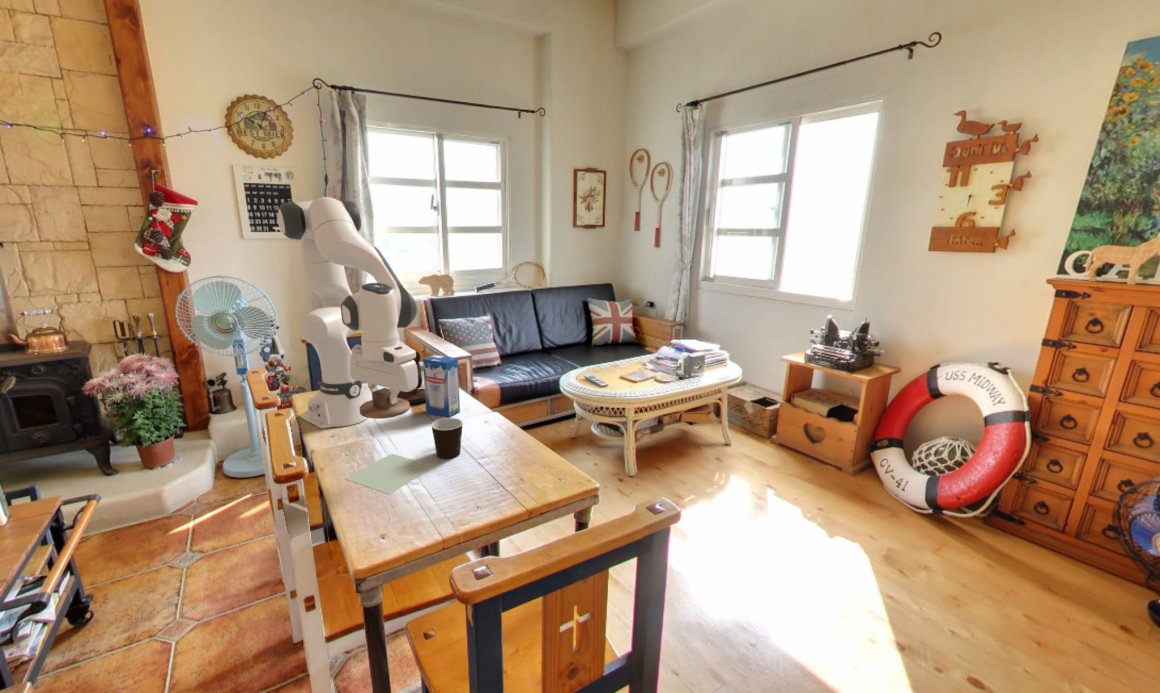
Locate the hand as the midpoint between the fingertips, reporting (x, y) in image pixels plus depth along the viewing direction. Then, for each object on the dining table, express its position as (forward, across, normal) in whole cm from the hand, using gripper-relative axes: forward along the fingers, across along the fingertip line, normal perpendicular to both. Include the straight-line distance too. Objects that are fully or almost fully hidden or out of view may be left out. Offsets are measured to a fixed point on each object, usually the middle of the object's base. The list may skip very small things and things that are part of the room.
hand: (384, 401), depth 124 cm
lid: (+2, 0, 0) cm, 2 cm away
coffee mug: (+21, +6, +17) cm, 28 cm away
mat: (+21, 0, 0) cm, 21 cm away
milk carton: (+21, -16, +40) cm, 48 cm away
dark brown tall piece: (+22, -36, +45) cm, 61 cm away
